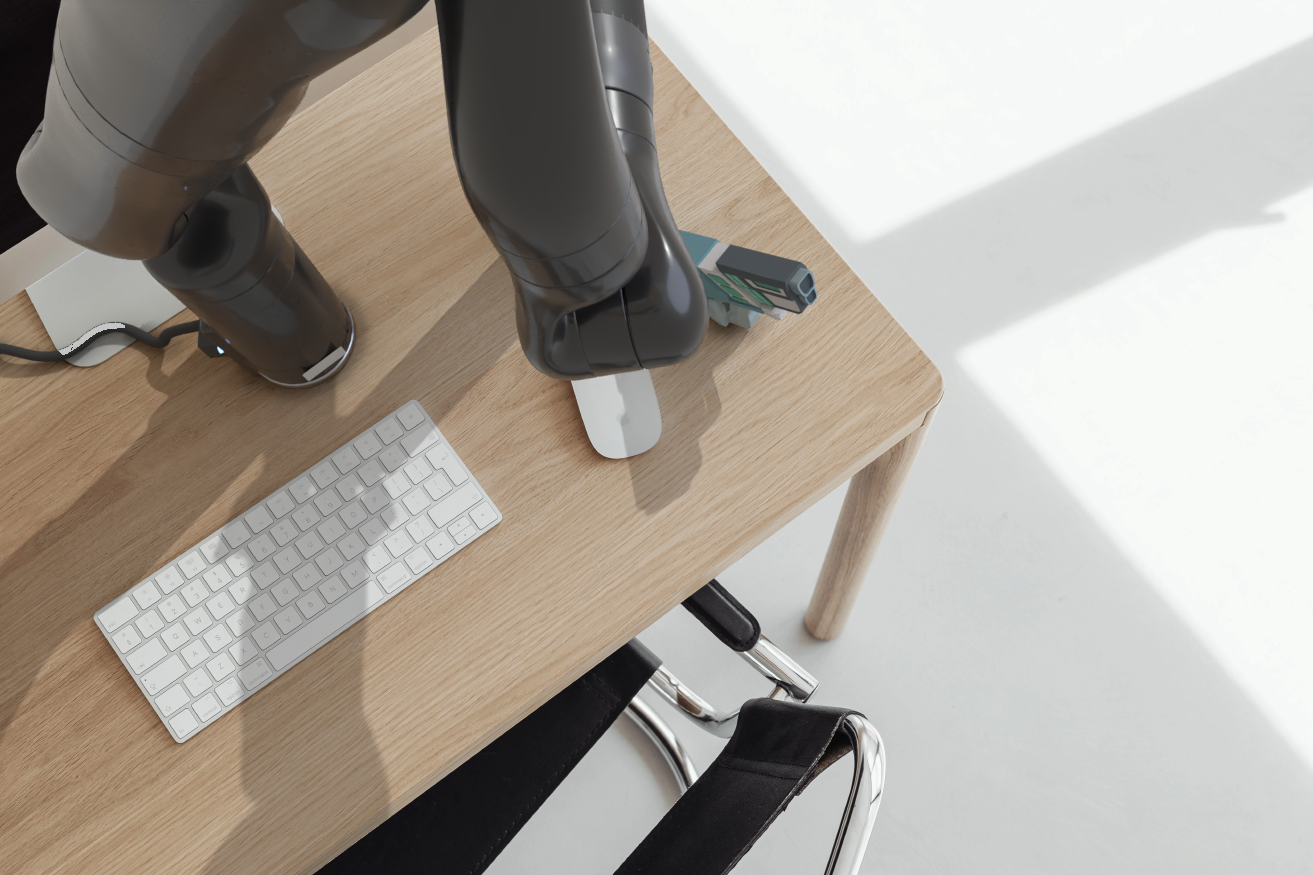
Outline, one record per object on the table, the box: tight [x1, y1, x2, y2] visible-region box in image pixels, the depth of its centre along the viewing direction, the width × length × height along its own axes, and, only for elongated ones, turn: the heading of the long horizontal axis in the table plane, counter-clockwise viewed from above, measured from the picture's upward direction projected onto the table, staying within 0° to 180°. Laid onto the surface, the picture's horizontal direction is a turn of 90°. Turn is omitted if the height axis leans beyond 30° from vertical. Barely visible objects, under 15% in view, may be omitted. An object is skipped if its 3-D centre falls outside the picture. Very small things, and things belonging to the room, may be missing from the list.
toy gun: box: [678, 229, 818, 329], centre depth 82 cm, size 4×19×10 cm
